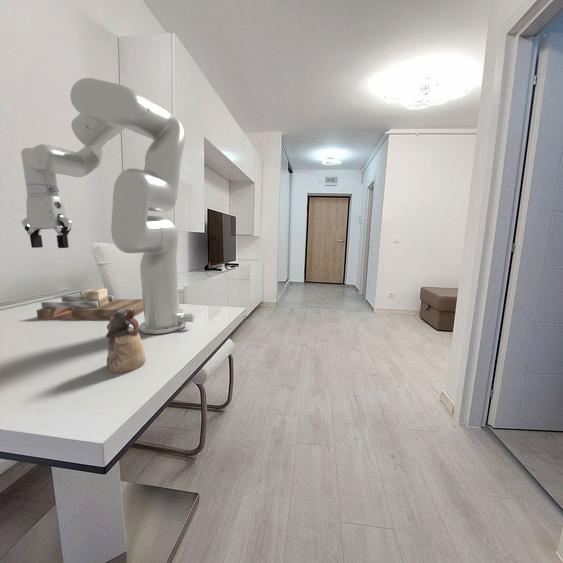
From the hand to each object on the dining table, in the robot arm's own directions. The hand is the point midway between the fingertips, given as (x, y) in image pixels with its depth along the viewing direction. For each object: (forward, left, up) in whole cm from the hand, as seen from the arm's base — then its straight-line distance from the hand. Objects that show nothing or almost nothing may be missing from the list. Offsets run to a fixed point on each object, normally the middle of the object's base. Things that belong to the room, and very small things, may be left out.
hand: (50, 247), depth 91 cm
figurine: (-41, +36, -23) cm, 60 cm away
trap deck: (-10, -4, -23) cm, 25 cm away
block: (-10, -4, -20) cm, 23 cm away
